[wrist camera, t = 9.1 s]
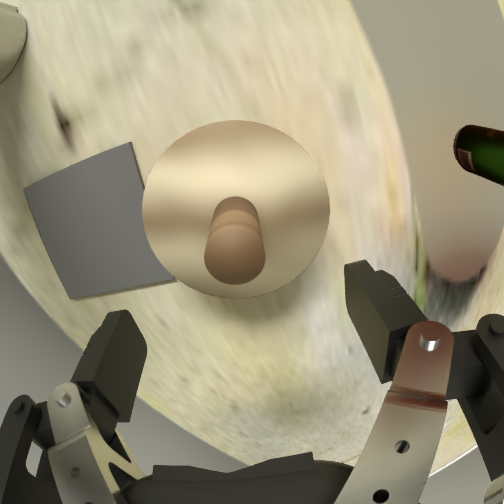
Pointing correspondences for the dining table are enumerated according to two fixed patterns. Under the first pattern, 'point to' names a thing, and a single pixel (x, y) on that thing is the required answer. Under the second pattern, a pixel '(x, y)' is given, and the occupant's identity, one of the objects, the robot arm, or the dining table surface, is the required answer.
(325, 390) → the dining table surface
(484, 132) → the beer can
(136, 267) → the mat
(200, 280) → the lid
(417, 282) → the dining table surface
